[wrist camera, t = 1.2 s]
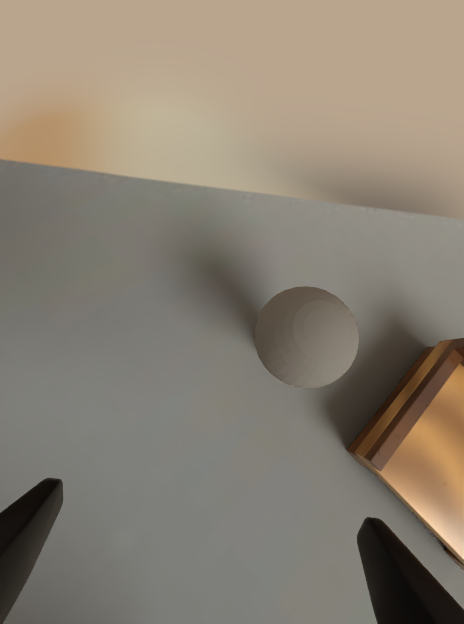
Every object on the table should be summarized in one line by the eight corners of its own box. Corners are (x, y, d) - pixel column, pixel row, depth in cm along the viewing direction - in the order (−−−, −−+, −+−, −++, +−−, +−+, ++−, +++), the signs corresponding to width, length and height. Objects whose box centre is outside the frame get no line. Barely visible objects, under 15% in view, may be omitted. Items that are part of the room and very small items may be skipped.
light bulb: (276, 398, 22) (334, 420, 12) (225, 346, 22) (241, 328, 13) (321, 346, 23) (406, 328, 14) (272, 299, 24) (319, 249, 14)
